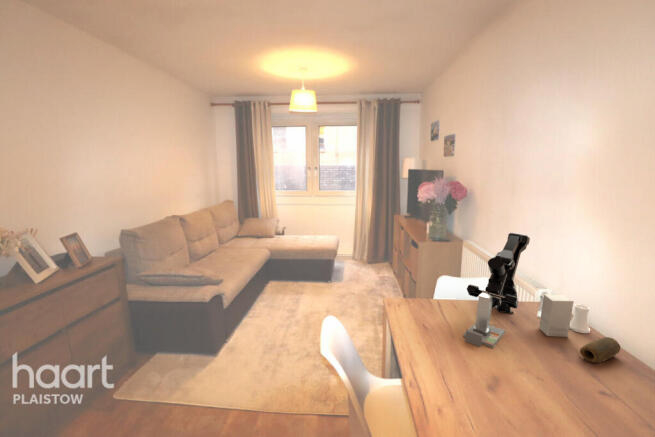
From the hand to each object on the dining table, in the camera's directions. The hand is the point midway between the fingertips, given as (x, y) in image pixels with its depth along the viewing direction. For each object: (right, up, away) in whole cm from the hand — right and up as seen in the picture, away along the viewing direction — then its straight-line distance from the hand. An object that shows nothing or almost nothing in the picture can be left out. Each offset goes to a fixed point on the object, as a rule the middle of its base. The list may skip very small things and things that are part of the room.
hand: (485, 314), depth 128 cm
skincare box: (+29, -9, +2) cm, 30 cm away
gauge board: (-2, -8, -2) cm, 9 cm away
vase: (+43, -8, +6) cm, 44 cm away
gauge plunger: (0, -7, -2) cm, 7 cm away
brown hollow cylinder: (+33, -12, -14) cm, 38 cm away
